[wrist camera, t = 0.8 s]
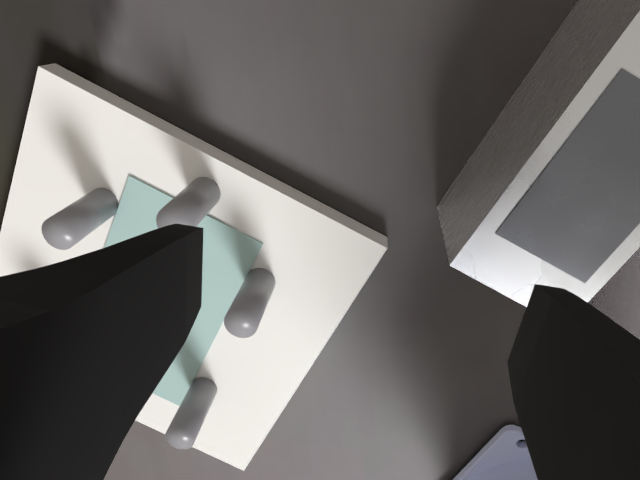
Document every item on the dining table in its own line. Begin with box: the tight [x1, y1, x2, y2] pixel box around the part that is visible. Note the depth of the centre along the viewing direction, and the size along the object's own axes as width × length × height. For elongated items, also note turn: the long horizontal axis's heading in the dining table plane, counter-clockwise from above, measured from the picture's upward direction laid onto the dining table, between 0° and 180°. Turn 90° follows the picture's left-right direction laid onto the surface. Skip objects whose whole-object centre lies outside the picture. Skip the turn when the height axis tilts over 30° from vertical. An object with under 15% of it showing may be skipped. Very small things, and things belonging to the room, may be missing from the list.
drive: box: [437, 0, 640, 307], centre depth 16 cm, size 4×8×5 cm, turn 153°
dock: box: [0, 63, 388, 471], centre depth 21 cm, size 14×14×4 cm
